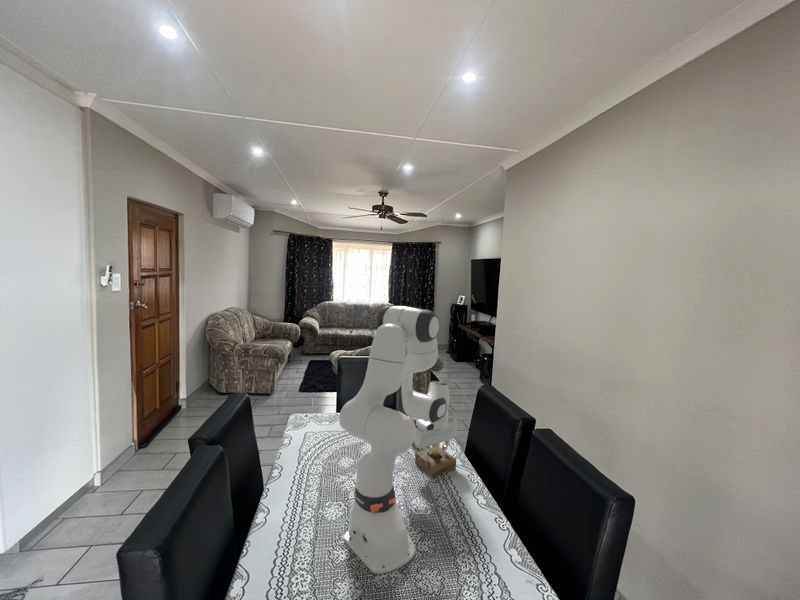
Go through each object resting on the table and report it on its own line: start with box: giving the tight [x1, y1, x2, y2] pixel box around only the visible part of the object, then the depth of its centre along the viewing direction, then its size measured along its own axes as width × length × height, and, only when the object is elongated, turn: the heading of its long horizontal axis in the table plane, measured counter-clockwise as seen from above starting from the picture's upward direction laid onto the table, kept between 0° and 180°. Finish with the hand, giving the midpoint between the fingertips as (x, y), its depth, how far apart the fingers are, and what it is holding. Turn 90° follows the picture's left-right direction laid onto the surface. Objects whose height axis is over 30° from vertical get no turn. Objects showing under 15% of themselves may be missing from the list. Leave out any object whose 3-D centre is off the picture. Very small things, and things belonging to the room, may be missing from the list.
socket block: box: [414, 447, 457, 478], centre depth 136 cm, size 12×12×4 cm
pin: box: [431, 443, 441, 460], centre depth 136 cm, size 3×3×10 cm
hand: (435, 452), depth 136 cm, fingers open, 8 cm apart
